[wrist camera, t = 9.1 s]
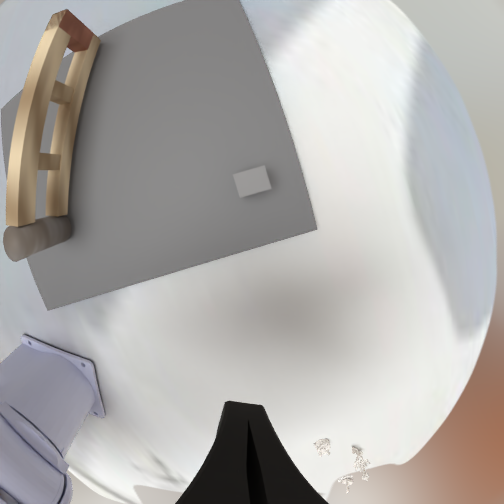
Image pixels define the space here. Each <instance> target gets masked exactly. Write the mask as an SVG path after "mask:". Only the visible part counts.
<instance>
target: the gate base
mask: <svg viewBox="0 0 504 504" xmlns="http://www.w3.org/2000/svg"><path fill="white" fill-rule="evenodd" d="M98 38H99V39H100V40H101V42H100V44H99V47H98V50H97V53H96V55H95V58H94V61H93V64H92V68H91V71H90V74H89V78H88V81H87V85H86V88H85V92H84V96H83V100H82V104H81V109H80V113H79V118H78V123H77V128H76V134H75V140H74V146H73V153H72V161H71V169H70V180H69V192H68V213H67V215H65V216H67V217H68V219H69V221H70V223H71V235H70V237H69V239H68V240H67V241H65V242H62V243H60V244H57V245H55V246H52V247H50V248H47V249H45V250H43V251H40V252H38V253H35V254H33V255H31V256H28V257H26V258H27V261H28V264H29V266H30V269H31V272H32V274H33V277H34V280H35V282H36V285H37V287H38V290H39V292H40V294H41V297H42V299H43V301H44V303H45V306H46V308H47V310H52V309H55V308H58V307H62V306H65V305H68V304H71V303H75V302H78V301H81V300H84V299H88V298H91V297H94V296H98V295H101V294H104V293H107V292H111V291H114V290H117V289H121V288H124V287H127V286H130V285H134V284H137V283H140V282H144V281H147V280H150V279H154V278H157V277H160V276H164V275H167V274H170V273H173V272H177V271H180V270H183V269H187V268H190V267H193V266H197V265H200V264H203V263H207V262H210V261H213V260H217V259H220V258H223V257H227V256H230V255H233V254H237V253H240V252H243V251H247V250H250V249H253V248H257V247H260V246H263V245H267V244H270V243H273V242H277V241H280V240H284V239H287V238H290V237H294V236H297V235H300V234H304V233H307V232H310V231H314V230H317V226H316V222H315V218H314V214H313V210H312V206H311V202H310V199H309V195H308V191H307V188H306V184H305V180H304V177H303V173H302V170H301V166H300V163H299V160H298V156H297V153H296V150H295V146H294V143H293V140H292V137H291V134H290V131H289V127H288V124H287V121H286V118H285V115H284V112H283V109H282V107H281V104H280V101H279V98H278V95H277V92H276V89H275V87H274V84H273V81H272V79H271V76H270V73H269V71H268V68H267V65H266V63H265V60H264V58H263V55H262V53H261V50H260V48H259V45H258V43H257V40H256V38H255V35H254V33H253V31H252V28H251V26H250V24H249V21H248V19H247V17H246V15H245V12H244V10H243V8H242V6H241V4H240V2H239V0H185V1H182V2H178V3H175V4H172V5H169V6H166V7H164V8H161V9H158V10H155V11H153V12H150V13H148V14H145V15H143V16H140V17H138V18H136V19H133V20H131V21H129V22H127V23H125V24H122V25H120V26H118V27H116V28H114V29H112V30H110V31H108V32H106V33H104V34H103V35H101V36H99V37H98ZM74 53H75V52H72V53H70V54H69V55H67V56H66V57H64V58H63V59H62V61H61V64H60V67H59V70H58V73H57V76H56V80H57V81H59V82H61V83H63V84H65V81H66V77H67V74H68V71H69V68H70V65H71V62H72V59H73V56H74ZM22 92H23V89H22V90H21V91H20V92H19V93H18V94H17V95H16V96H14V97H13V98H12V99H11V100H10V101H9V102H8V103H7V104H6V105H5V106H4V107H3V108H2V109H1V128H2V144H3V155H4V163H5V171H6V177H7V176H8V166H9V157H10V149H11V142H12V136H13V131H14V125H15V121H16V116H17V111H18V107H19V103H20V99H21V95H22ZM58 107H59V104H57V103H54V102H51V101H50V102H49V106H48V110H47V115H46V119H45V124H44V129H43V135H42V141H41V148H40V153H49V154H50V150H51V144H52V137H53V132H54V126H55V121H56V116H57V112H58ZM47 177H48V170H38V173H37V185H36V205H35V219H39V218H44V217H48V216H46V190H47Z"/></svg>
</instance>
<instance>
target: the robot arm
mask: <svg viewBox="0 0 504 504" xmlns="http://www.w3.org/2000/svg"><path fill="white" fill-rule="evenodd" d="M21 341H22V344H21V345H20V346H19V347H18V348H17V349H15V350H14V351H13V352H12V353H11V354H10V355H9V356H8V357H7V358H6V359H5V360H4V361H2V362H1V363H0V504H70V502H71V499H72V493H73V490H72V482H71V478H70V477H69V475H68V474H67V473H66V471H67V469H68V467H69V464H67V463H66V462H65V461H64V458H65V456H66V454H67V452H68V450H69V448H70V446H71V444H72V442H73V440H74V438H75V437H76V435H77V433H78V431H79V429H80V427H81V425H82V424H83V422H84V420H85V418H86V416H87V415H88V413H89V414H92V415H94V416H97V417H100V418H104V417H105V412H104V409H103V405H102V401H101V397H100V393H99V388H98V384H97V379H96V375H95V370H94V365H93V363H92V362H91V361H89V360H87V359H84V358H81V357H78V356H75V355H72V354H70V353H67V352H64V351H62V350H59V349H57V348H54V347H52V346H49V345H47V344H44V343H42V342H40V341H37V340H35V339H33V338H31V337H28V336H26V335H24V334H23V335H22V336H21ZM175 504H328V502H326V501H325V500H324V499H323V498H322V497H321V496H320V495H319V494H318V493H317V492H316V490H315V489H314V488H313V487H312V486H311V485H310V484H309V483H308V481H307V480H306V479H305V478H304V476H303V475H302V474H301V473H300V471H299V470H298V468H297V467H296V466H295V464H294V463H293V461H292V460H291V458H290V457H289V455H288V454H287V452H286V450H285V449H284V447H283V445H282V443H281V442H280V440H279V438H278V436H277V434H276V432H275V430H274V428H273V427H272V424H271V422H270V420H269V418H268V416H267V413H266V411H265V409H264V407H263V406H262V405H256V404H248V403H241V402H234V401H227V402H225V404H224V408H223V411H222V415H221V418H220V422H219V425H218V429H217V435H216V439H215V441H214V444H213V446H212V448H211V450H210V452H209V454H208V455H207V457H206V459H205V461H204V463H203V465H202V466H201V468H200V470H199V471H198V473H197V475H196V476H195V478H194V479H193V481H192V482H191V484H190V485H189V486H188V488H187V489H186V490H185V492H184V493H183V494H182V496H181V497H180V498H179V500H178V501H177V502H176V503H175Z"/></svg>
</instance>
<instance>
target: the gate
mask: <svg viewBox="0 0 504 504" xmlns="http://www.w3.org/2000/svg"><path fill="white" fill-rule="evenodd" d="M100 42H101V40H100V39H99V38H98V37H97V36H96V35H95V34H94V33H93V32H92V31H91V30H90V29H88V28H87V27H86V26H85V25H84V24H83V23H82V22H81V21H80V20H79V19H78V18H76V17H75V16H74V15H73V14H72V13H71V12H70V11H69V10H67V9H66V10H63V11H60V12H58V13H55V14H53V15H52V17H51V19H50V21H49V23H48V25H47V27H46V30H45V32H44V34H43V36H42V38H41V41H40V43H39V45H38V48H37V50H36V53H35V56H34V58H33V61H32V64H31V66H30V69H29V72H28V75H27V78H26V82H25V85H24V88H23V92H22V95H21V99H20V103H19V107H18V111H17V116H16V121H15V125H14V131H13V136H12V142H11V149H10V157H9V166H8V176H7V193H6V225H9V227H7V229H6V230H5V232H4V237H3V243H4V249H5V252H6V254H7V256H8V257H9V258H10V259H11V260H12V261H15V262H17V261H19V260H21V259H24V258H26V257H28V256H31V255H33V254H35V253H38V252H40V251H43V250H45V249H47V248H50V247H52V246H55V245H57V244H60V243H62V242H65V241H67V240H68V239H69V237H70V235H71V223H70V221H69V219H68V217H67V216H65V215H67V213H68V192H69V180H70V169H71V161H72V153H73V146H74V140H75V134H76V128H77V123H78V118H79V113H80V109H81V104H82V100H83V96H84V92H85V88H86V85H87V81H88V78H89V74H90V71H91V68H92V64H93V61H94V58H95V55H96V53H97V50H98V47H99V44H100ZM66 48H69V49H70V50H72V51H73V52H75V53H74V56H73V59H72V62H71V65H70V68H69V71H68V74H67V77H66V81H65V84H63V83H61V82H59V81H57V80H56V76H57V73H58V70H59V67H60V64H61V61H62V58H63V56H64V53H65V50H66ZM50 101H51V102H54V103H57V104H59V107H58V112H57V116H56V121H55V126H54V132H53V137H52V144H51V150H50V154H49V153H40V148H41V141H42V135H43V129H44V124H45V119H46V115H47V110H48V106H49V102H50ZM38 170H48V177H47V190H46V216H48V217H44V218H39V219H35V205H36V185H37V173H38Z"/></svg>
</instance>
